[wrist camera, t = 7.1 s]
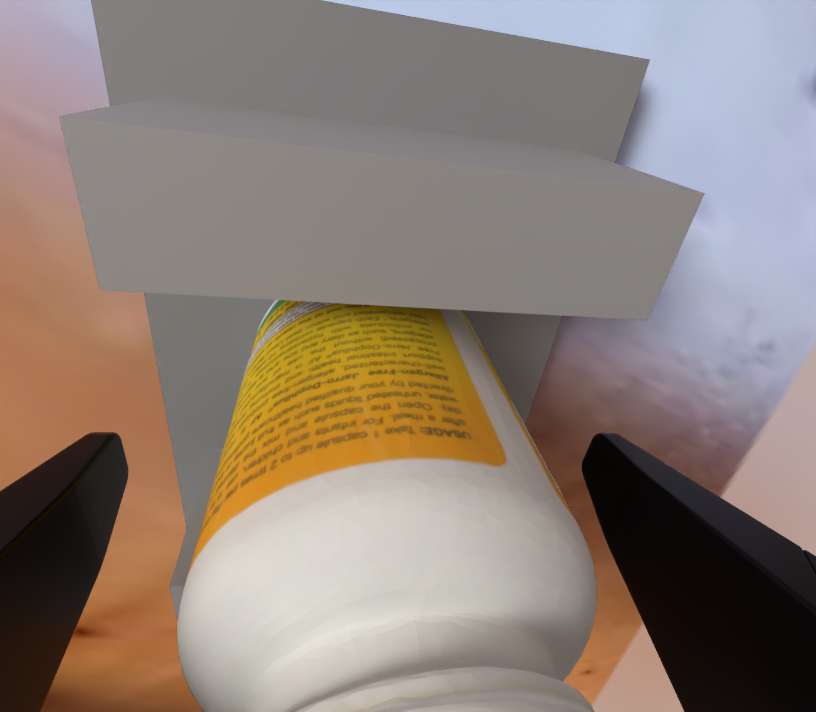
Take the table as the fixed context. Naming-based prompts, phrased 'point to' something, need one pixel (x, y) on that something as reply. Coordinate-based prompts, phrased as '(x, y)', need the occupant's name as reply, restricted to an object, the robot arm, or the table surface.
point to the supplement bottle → (382, 530)
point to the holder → (356, 189)
